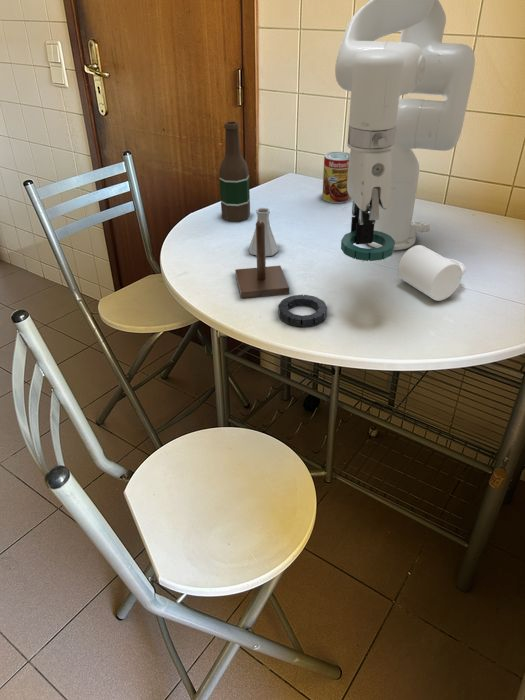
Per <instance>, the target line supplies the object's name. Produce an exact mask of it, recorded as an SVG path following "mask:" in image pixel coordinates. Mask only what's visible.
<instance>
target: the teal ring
mask: <svg viewBox="0 0 525 700" xmlns="http://www.w3.org/2000/svg"><path fill="white" fill-rule="evenodd" d="M355 233H356V231H355V232H354V231H352V232H351V231H350V232H347V233H345V234H344V235H343V236H342V238H341V240H340V250H341V251H342V253H343V254H344V255H345V256H347V257H349V258H351V259H353V260H357V261H358V260H359V261H364V262H375V261H382V260H386V259H388V258H389V257H392V255H393V254H394V251H395V250H394V247H395V241H394V239H393V238H392V237H391V236H390V235H388V234H385V233H383V232H379V231H374V232H373V241H372V242H375V243H378V244H380V245H382V246H381V247H379V248H375V247H372V248H366V247H360V246H357V245H356V243H355Z"/></svg>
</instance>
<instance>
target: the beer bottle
mask: <svg viewBox="0 0 525 700" xmlns="http://www.w3.org/2000/svg"><path fill="white" fill-rule="evenodd" d="M223 128H224V129H225V131H224V132H225V133H224V134H225V135H224V137H225V138H224V139H225V140H224V141H225V142H224V143H225V144H224V145H225V146H224V147H225V149H224V150H225V151H224V158H223V159H222V162H221V163H220V165H219V171H218V172H219V174H218V178H219V179H218V180H219V197H220V211H221V217H222V219H223V220H225V221H227V222H231V223H232V222H233V223H240V222H243V221H247V220H248V219H249V216H250V215H251V196H250V195H251V194H250V193H251V191H250V171H249V166H248V164H247V161H246V160H245V158H244V157H243V156H242V151H241V144H240V143H241V141H240V134H239V128H240V124H239V122H237V121H232V120H231V121H226V122H225V123H224V126H223Z"/></svg>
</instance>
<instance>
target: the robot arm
mask: <svg viewBox="0 0 525 700" xmlns="http://www.w3.org/2000/svg"><path fill="white" fill-rule="evenodd" d="M446 23H447V15H446V13H445V10H444V8H443V6H442V4H441V2H440V0H368V1H367V2H366V3H365V4H363V6H361V7H360V8H359V9H358V10H357V11H356V12H355V13H354V15H353V16H352V17H351V18H350V20H349V21H348V23H347V26H346V27H345V31H344V34H343V37H342V39H341V43H340V45H339V49H338V51H337V56H336V60H335V66H334V67H335V69H334V72H335V75H334V76H335V79H336V82H337V84H338V86H339V87H340V88H341V89H342V90H344V91H346V92H350V104H349V117H348V118H349V119H348V128H347V129H348V131H347V148H349V149H350V151H349V153H350V158H349V166H348V177H347V191H348V194H349V196H350V199H351V200H352V206H351V224H350V232H352V231H354V232H355V231H356V233H355V243H354V244H355V245H356V246H357V245H366V244H367V245H368V246H369V247H372V248H379V247H381V246H382V245H380V244H378V243H375V242H372V241H373V232H374V231H379V232H383V233H385V234H388V235H390V236H391V237H392V238H393V239H394V241H395V247H394V251H401V250H407V249H410V248H412V247H413V246H414V244H415V243H416V239H417V237H416V235H417V234H418V233H429V232H430V231H431V224H430V223H422V222H421V221H420V220H417V221H413V215H414V209H415V202H416V195H417V190H418V184H419V179H420V178H419V177H420V172H421V171H420V170H421V169H420V162H419V160H418V158H417V156H416V154H415V153H414V149H415V150H417V149H418V150H427V151H443V152H445V151H446V152H447V151H450V150H452V149H454V148H455V147H456V145H457V144H458V142H459V140H460V138H461V134H462V130H463V125H464V122H465V116H466V111H467V107H468V103H469V98H470V93H471V88H472V83H473V79H474V73H475V65H476V57H475V52H474V50H473V48H472V47H471V46H469V45H467V44H464V43H454V42H453V43H449V42H448V43H447V42H443V38H444V34H445V33H444V32H445V28H446V25H447V24H446ZM398 32H401V33H400V37H399V41H384V40H380V39H381V38H383V37H386V36H389V35H392V34H395V33H398ZM408 94H413V95H426V96H427V95H428V96H441V97H443V98H444V100H435V99H434V100H431V99H421V98H400V97H401V96H405V95H408Z"/></svg>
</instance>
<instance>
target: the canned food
mask: <svg viewBox="0 0 525 700" xmlns="http://www.w3.org/2000/svg"><path fill="white" fill-rule="evenodd" d="M349 158H350V152H346V151H329V152H327V153H325V154H324V156H323V175H322V176H323V177H322V195H321V197H322V200H323V201H325V202H327V203H332V204H342V203H346V202H348V201H350V199H351V197H350V196H349V194H348V191H347V177H348V166H349Z"/></svg>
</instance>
